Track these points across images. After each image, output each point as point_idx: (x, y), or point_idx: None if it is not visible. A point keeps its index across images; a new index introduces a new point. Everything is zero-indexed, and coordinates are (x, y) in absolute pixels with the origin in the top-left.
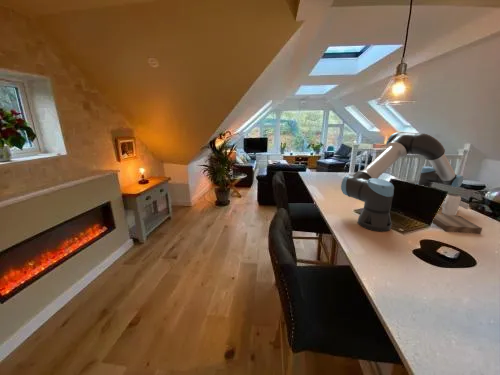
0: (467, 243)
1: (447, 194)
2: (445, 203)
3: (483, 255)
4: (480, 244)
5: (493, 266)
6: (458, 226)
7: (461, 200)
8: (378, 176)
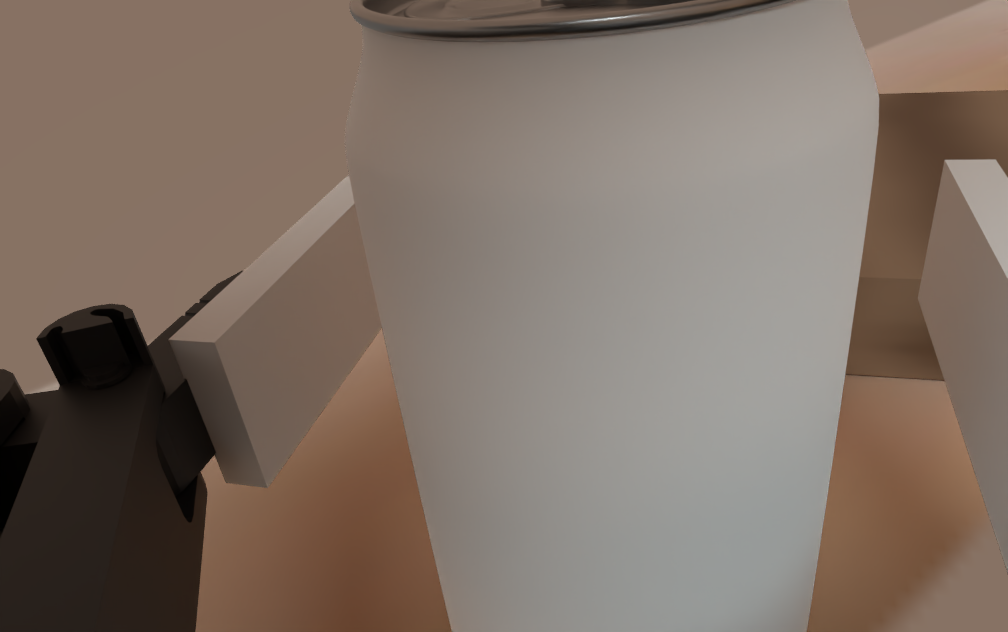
0: (986, 85)
1: (802, 39)
2: (999, 171)
3: (960, 39)
4: (878, 88)
5: (973, 9)
6: (989, 93)
7: (137, 334)
8: None
